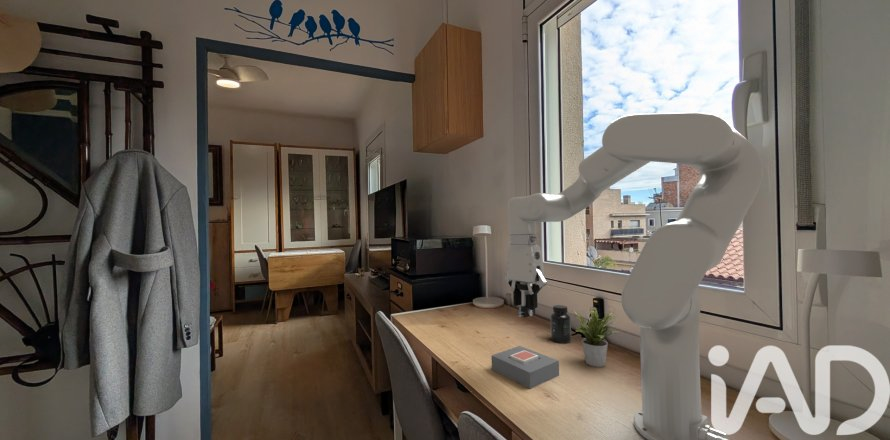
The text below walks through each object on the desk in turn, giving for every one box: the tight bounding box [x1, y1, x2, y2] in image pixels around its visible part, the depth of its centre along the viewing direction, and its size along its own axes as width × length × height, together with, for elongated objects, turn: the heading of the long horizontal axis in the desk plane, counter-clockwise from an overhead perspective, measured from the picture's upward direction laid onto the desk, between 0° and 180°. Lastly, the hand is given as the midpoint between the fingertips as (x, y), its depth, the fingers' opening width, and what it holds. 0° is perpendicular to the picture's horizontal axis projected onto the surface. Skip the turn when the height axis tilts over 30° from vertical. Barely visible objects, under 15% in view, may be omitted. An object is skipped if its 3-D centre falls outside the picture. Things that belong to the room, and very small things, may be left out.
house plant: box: [572, 307, 619, 368], centre depth 94 cm, size 14×14×16 cm
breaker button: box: [510, 350, 538, 365], centre depth 90 cm, size 5×6×4 cm
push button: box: [517, 282, 536, 319], centre depth 89 cm, size 7×5×10 cm
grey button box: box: [491, 345, 560, 389], centre depth 89 cm, size 14×12×4 cm
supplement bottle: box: [550, 304, 572, 344], centre depth 114 cm, size 7×7×12 cm
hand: (525, 305), depth 88 cm, fingers closed on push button, 4 cm apart
